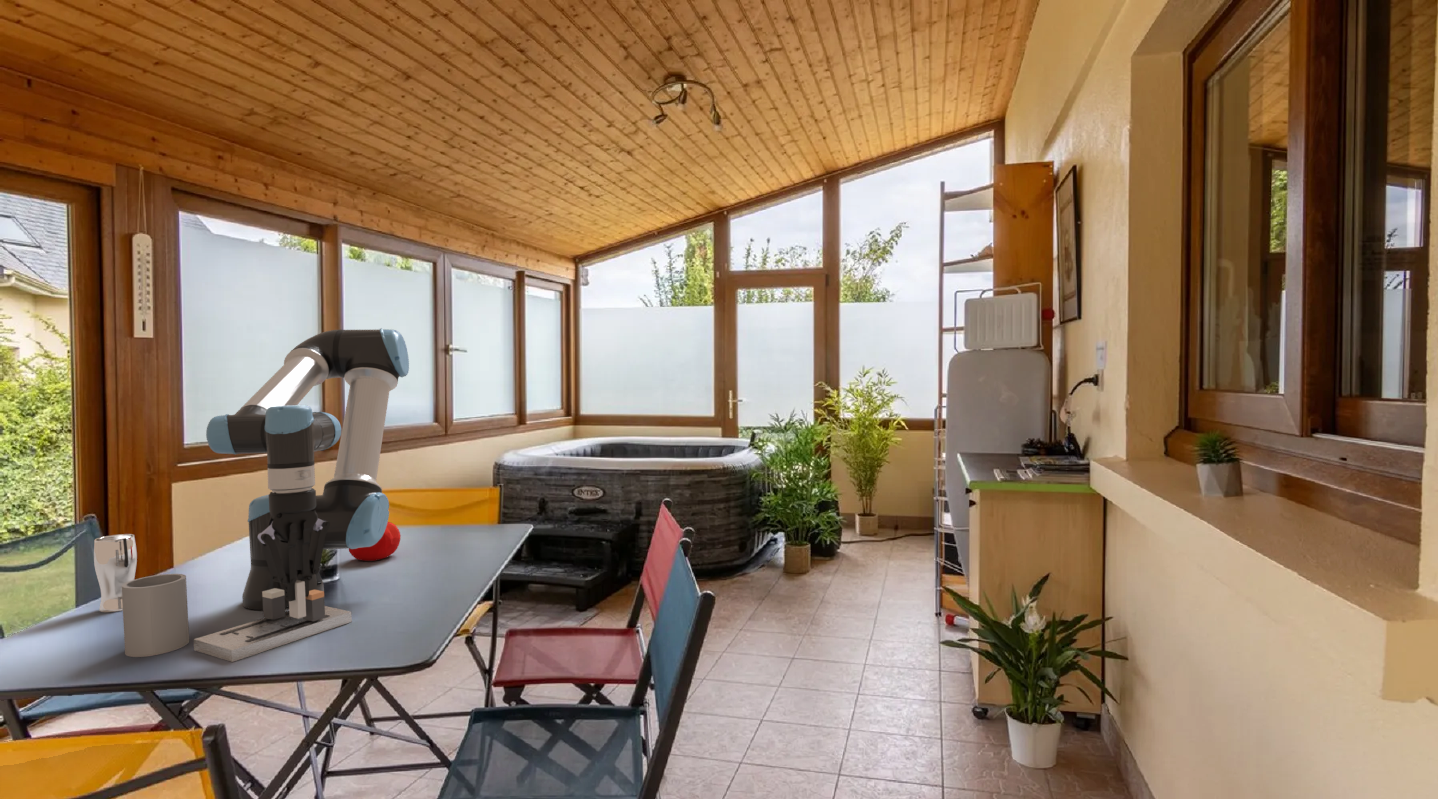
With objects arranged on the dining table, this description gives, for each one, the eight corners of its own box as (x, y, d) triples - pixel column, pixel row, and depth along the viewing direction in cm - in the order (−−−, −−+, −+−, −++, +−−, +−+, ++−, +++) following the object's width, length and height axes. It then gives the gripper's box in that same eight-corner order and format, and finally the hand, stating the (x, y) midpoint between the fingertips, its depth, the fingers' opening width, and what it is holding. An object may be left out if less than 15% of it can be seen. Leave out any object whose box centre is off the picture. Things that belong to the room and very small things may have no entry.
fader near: (303, 619, 139) (302, 592, 139) (315, 615, 141) (314, 589, 141) (312, 621, 138) (311, 595, 137) (325, 617, 140) (324, 591, 139)
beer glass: (146, 605, 157) (142, 535, 157) (108, 615, 151) (104, 542, 151) (127, 601, 160) (124, 532, 160) (89, 611, 154) (85, 539, 153)
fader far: (263, 617, 140) (262, 591, 140) (276, 613, 142) (274, 588, 142) (272, 619, 139) (271, 593, 139) (285, 616, 141) (284, 590, 141)
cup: (117, 660, 126) (113, 591, 126) (134, 642, 135) (131, 577, 134) (181, 651, 130) (178, 583, 130) (194, 634, 138) (191, 571, 138)
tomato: (343, 559, 194) (341, 520, 193) (393, 550, 202) (392, 513, 202) (357, 567, 185) (355, 526, 185) (408, 557, 194) (407, 518, 194)
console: (194, 650, 130) (193, 638, 130) (313, 613, 150) (313, 603, 150) (232, 662, 125) (231, 649, 125) (351, 621, 144) (351, 611, 144)
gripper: (268, 496, 128) (274, 630, 129) (338, 485, 140) (343, 608, 141) (243, 493, 132) (249, 624, 133) (314, 483, 143) (319, 603, 144)
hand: (297, 616), depth 137 cm, fingers closed
